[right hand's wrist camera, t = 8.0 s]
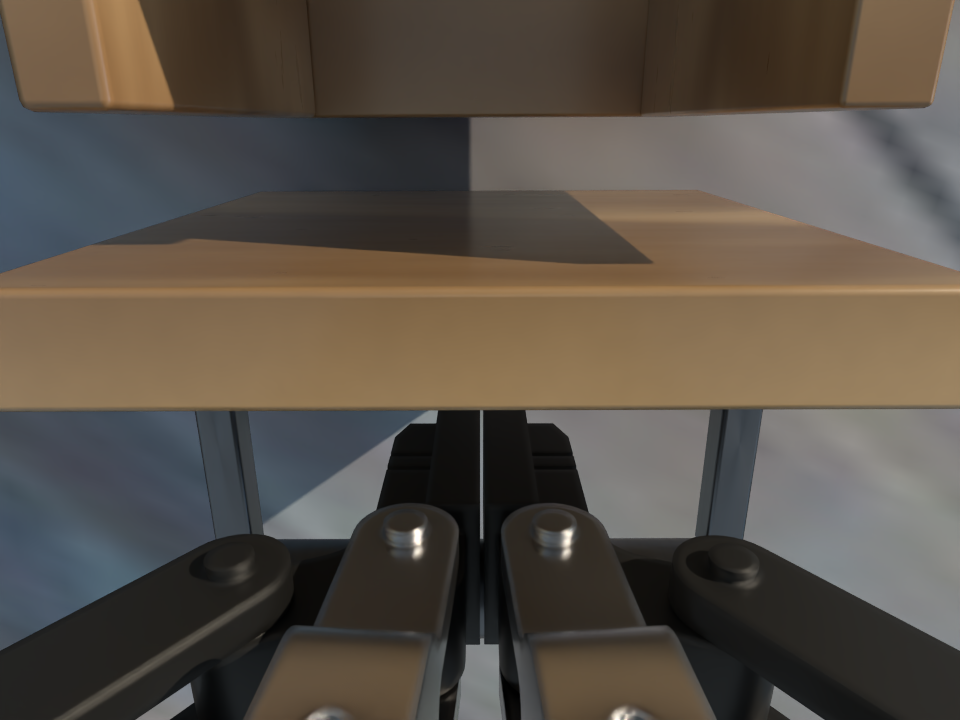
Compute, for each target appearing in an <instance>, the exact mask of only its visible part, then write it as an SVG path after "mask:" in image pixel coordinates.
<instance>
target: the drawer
mask: <svg viewBox="0 0 960 720" xmlns="http://www.w3.org/2000/svg"><path fill="white" fill-rule="evenodd" d="M954 1H955V0H0V14H1V19H2V23H3V28H4V33H5V37H6V42H7V46H8V51H9V55H10V60H11V64H12V69H13V73H14V78H15V82H16V87H17V91H18V96H19V100H20V102H21V104H22V105H23V107H24V108H26V109H29V110H31V111H34V112H58V113H99V114H140V115H181V116H222V117H263V118H448V117H671V116H701V115H731V114H761V113H791V112H821V111H851V110H881V109H911V108H925V107H928V106H930V105H931V104H932V102H933V101H934V96H935V91H936V86H937V82H938V77H939V72H940V67H941V63H942V58H943V53H944V48H945V44H946V39H947V34H948V29H949V25H950V20H951V15H952V10H953V6H954ZM693 409H711V411H710V419H709V427H708V435H707V443H706V451H705V459H704V467H703V476H702V484H701V492H700V500H699V508H698V516H697V524H696V532H695V536H696V537H698V536H705V535H720V536H729V537H734V538H738V539H742V540H743V537H744V530H745V524H746V517H747V510H748V504H749V497H750V491H751V484H752V478H753V471H754V464H755V458H756V451H757V445H758V438H759V432H760V425H761V418H762V412H763V409H960V272H959V271H956V270H953V269H950V268H947V267H943V266H940V265H937V264H934V263H930V262H927V261H924V260H921V259H918V258H914V257H911V256H908V255H905V254H902V253H898V252H895V251H892V250H889V249H885V248H882V247H879V246H876V245H873V244H869V243H866V242H863V241H860V240H856V239H853V238H850V237H847V236H844V235H840V234H837V233H834V232H831V231H827V230H824V229H821V228H818V227H815V226H811V225H808V224H805V223H802V222H799V221H795V220H792V219H789V218H786V217H782V216H779V215H776V214H773V213H770V212H766V211H763V210H760V209H757V208H753V207H750V206H747V205H744V204H741V203H737V202H734V201H731V200H728V199H725V198H721V197H718V196H715V195H712V194H708V193H705V192H702V191H699V190H591V191H338V192H259V193H255V194H252V195H249V196H246V197H243V198H239V199H236V200H233V201H230V202H227V203H223V204H220V205H217V206H214V207H211V208H207V209H204V210H201V211H198V212H195V213H191V214H188V215H185V216H182V217H179V218H176V219H172V220H169V221H166V222H163V223H160V224H156V225H153V226H150V227H147V228H144V229H140V230H137V231H134V232H131V233H128V234H124V235H121V236H118V237H115V238H112V239H108V240H105V241H102V242H99V243H96V244H93V245H89V246H86V247H83V248H80V249H77V250H73V251H70V252H67V253H64V254H61V255H57V256H54V257H51V258H48V259H45V260H41V261H38V262H35V263H32V264H29V265H25V266H22V267H19V268H16V269H13V270H10V271H6V272H3V273H0V412H43V411H195V415H196V421H197V427H198V433H199V439H200V445H201V452H202V458H203V464H204V470H205V476H206V482H207V489H208V495H209V501H210V507H211V513H212V519H213V526H214V532H215V538H216V539H219V538H223V537H227V536H232V535H238V534H260V535H264V532H263V524H262V517H261V509H260V502H259V494H258V487H257V479H256V472H255V464H254V457H253V449H252V442H251V434H250V427H249V419H248V412H247V411H368V410H693ZM609 539H610V541H611V543H612V544H613V545H615V546H617V547H619V548H621V549H623V550H626V551H629V552H631V553H634V554H638V555H642V556H646V557H651V558H655V559H660V560H665V561H670V562H672V558H673V554H674V551H675V550H676V548H677V547H678V546H679V545H680V544H682V543H683V542H684V541H686V540H689V539H691V538H609ZM277 540H279V541H280V542H282V543H283V544H284V545H285V546H286V548H287V549H288V551H289V554H290V560H291V563H292V562H297V561H301V560H306V559H311V558H315V557H320V556H324V555H328V554H331V553H334V552H337V551H340V550H342V549H344V548H346V547H347V545H348V543H349V541H350V539H277ZM480 638H484V541H483V539H480Z"/></svg>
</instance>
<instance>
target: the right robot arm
mask: <svg viewBox="0 0 960 720" xmlns="http://www.w3.org/2000/svg"><path fill="white" fill-rule="evenodd" d="M483 541H484V644H499V698H500V706H501V714H502V720H790V719H788V718H787V717H785V716H784V715H783V714H781V713H780V712H778V711H777V710H776V709H774V708H773V707H771V706H770V703H771V699H772V694H773V689H774V686H776V687H777V688H779V689H780V690H782V691H783V692H785V693H786V694H788V695H789V696H791V697H792V698H794V699H795V700H797V701H798V702H799V703H801V704H802V705H804V706H805V707H807V708H808V709H810V710H811V711H813V712H814V713H816V714H817V715H819V716H820V717H822V718H823V719H824V720H960V651H959V650H957V649H955V648H953V647H951V646H949V645H948V644H946V643H944V642H942V641H940V640H938V639H936V638H934V637H932V636H930V635H928V634H927V633H925V632H923V631H921V630H919V629H917V628H915V627H913V626H911V625H909V624H907V623H906V622H904V621H902V620H900V619H898V618H896V617H894V616H892V615H890V614H888V613H886V612H885V611H883V610H881V609H879V608H877V607H875V606H873V605H871V604H869V603H867V602H866V601H864V600H862V599H860V598H858V597H856V596H854V595H852V594H850V593H848V592H846V591H845V590H843V589H841V588H839V587H837V586H835V585H833V584H831V583H829V582H827V581H825V580H824V579H822V578H820V577H818V576H816V575H814V574H812V573H810V572H808V571H806V570H804V569H803V568H801V567H799V566H797V565H795V564H793V563H791V562H789V561H787V560H785V559H783V558H782V557H780V556H778V555H776V554H774V553H772V552H770V551H768V550H766V549H764V548H762V547H760V546H758V545H756V544H754V543H751V542H748V541H745V540H742V539H738V538H734V537H729V536H720V535H705V536H698V537H694V538H691V539H689V540H686V541H684V542H683V543H682V544H680V545H679V546H678V547H677V548H676V550H675V551H674V554H673V558H672V562H670V561H665V560H660V559H655V558H651V557H646V556H642V555H638V554H634V553H631V552H629V551H626V550H623V549H621V548H619V547H617V546H615V545H613V544H612V543H611V541H610V539H609V536H608V534H607V532H606V529H605V528H604V526H603V524H602V523H601V522H600V521H599V520H598V519H597V518H596V517H594V516H593V515H591V514H590V513H589V512H588V508H587V504H586V501H585V497H584V493H583V490H582V486H581V482H580V478H579V475H578V471H577V470H576V464H575V460H574V456H573V452H572V449H571V445H570V441H569V438H568V436H567V435H565V434H564V433H563V432H562V431H561V430H560V429H559V428H557V427H556V426H555V425H554V424H553V423H527V418H526V412H525V410H483ZM466 645H480V410H438V416H437V423H436V424H409V425H408V426H407V427H406V428H405V429H404V430H403V431H402V432H400V433H399V434H398V435H397V436H396V437H395V440H394V444H393V447H392V451H391V456H390V459H389V463H388V470H387V471H386V475H385V478H384V482H383V486H382V490H381V494H380V498H379V502H378V506H377V509H376V511H374V512H372V513H370V514H368V515H367V516H366V517H364V518H363V519H362V520H361V521H360V522H359V523H358V524H357V526H356V528H355V529H354V531H353V534H352V536H351V538H350V541H349V543H348V545H347V547H346V548H344V549H342V550H340V551H337V552H334V553H331V554H328V555H324V556H320V557H315V558H311V559H306V560H301V561H297V562H292V563H291V560H290V554H289V551H288V549H287V548H286V546H285V545H284V544H283V543H282V542H280V541H279V540H277V539H275V538H273V537H269V536H266V535H260V534H238V535H232V536H227V537H223V538H219V539H216V540H213V541H210V542H208V543H206V544H204V545H202V546H199V547H198V548H196V549H194V550H192V551H190V552H188V553H186V554H184V555H182V556H180V557H178V558H177V559H175V560H173V561H171V562H169V563H167V564H165V565H163V566H161V567H159V568H157V569H156V570H154V571H152V572H150V573H148V574H146V575H144V576H142V577H140V578H138V579H136V580H135V581H133V582H131V583H129V584H127V585H125V586H123V587H121V588H119V589H117V590H115V591H114V592H112V593H110V594H108V595H106V596H104V597H102V598H100V599H98V600H96V601H95V602H93V603H91V604H89V605H87V606H85V607H83V608H81V609H79V610H77V611H75V612H74V613H72V614H70V615H68V616H66V617H64V618H62V619H60V620H58V621H56V622H54V623H53V624H51V625H49V626H47V627H45V628H43V629H41V630H39V631H37V632H35V633H33V634H32V635H30V636H28V637H26V638H24V639H22V640H20V641H18V642H16V643H14V644H12V645H11V646H9V647H7V648H5V649H3V650H1V651H0V720H136V719H137V718H138V717H140V716H141V715H143V714H144V713H146V712H147V711H149V710H150V709H152V708H153V707H155V706H156V705H158V704H159V703H161V702H162V701H163V700H165V699H166V698H168V697H169V696H171V695H172V694H174V693H175V692H177V691H178V690H180V689H181V688H183V687H184V686H186V685H187V684H189V683H191V688H192V693H193V698H194V703H193V704H191V705H190V706H189V707H187V708H186V709H184V710H183V711H182V712H180V713H179V714H177V715H176V716H175V717H173V718H172V719H170V720H458V713H459V705H460V697H461V676H462V674H463V671H464V668H465V657H466Z"/></svg>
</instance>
